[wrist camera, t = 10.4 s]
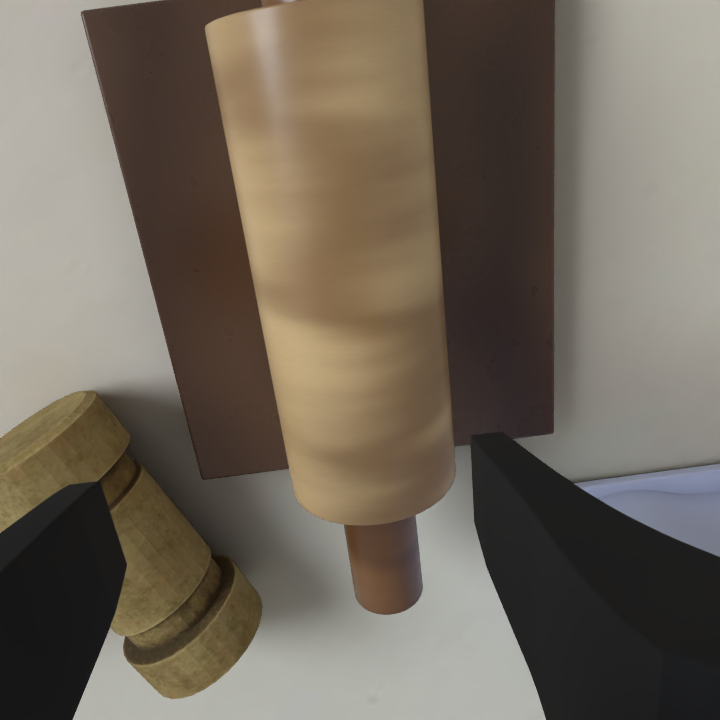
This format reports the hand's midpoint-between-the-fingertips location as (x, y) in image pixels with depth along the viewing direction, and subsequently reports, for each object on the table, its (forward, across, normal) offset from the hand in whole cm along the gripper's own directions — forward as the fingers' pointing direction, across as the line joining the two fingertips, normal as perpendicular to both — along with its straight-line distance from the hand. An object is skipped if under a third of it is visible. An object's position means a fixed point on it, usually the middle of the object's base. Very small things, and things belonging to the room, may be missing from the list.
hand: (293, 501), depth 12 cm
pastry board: (+9, -2, -3) cm, 10 cm away
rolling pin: (+6, -2, -3) cm, 6 cm away
